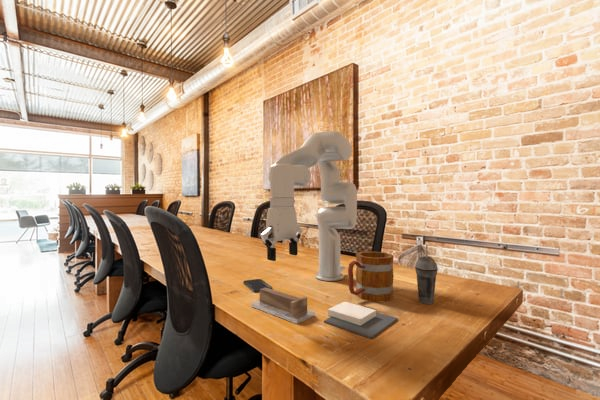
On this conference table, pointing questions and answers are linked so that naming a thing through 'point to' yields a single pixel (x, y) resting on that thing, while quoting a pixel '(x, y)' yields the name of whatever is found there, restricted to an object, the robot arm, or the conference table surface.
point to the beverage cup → (426, 278)
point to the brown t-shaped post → (283, 301)
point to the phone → (256, 285)
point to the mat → (365, 325)
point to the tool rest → (283, 312)
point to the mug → (372, 276)
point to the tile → (352, 313)
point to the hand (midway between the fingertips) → (282, 257)
